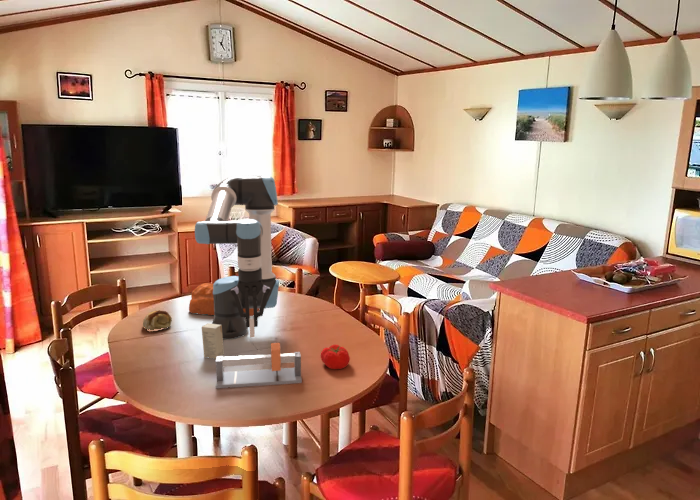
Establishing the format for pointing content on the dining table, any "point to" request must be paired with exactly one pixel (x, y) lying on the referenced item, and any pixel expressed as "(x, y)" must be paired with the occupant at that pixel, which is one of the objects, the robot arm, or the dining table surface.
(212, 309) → the bread
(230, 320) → the robot arm
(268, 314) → the dining table surface
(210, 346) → the skincare box
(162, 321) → the pastry
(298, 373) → the rail
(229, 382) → the board
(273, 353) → the collar
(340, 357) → the tomato
